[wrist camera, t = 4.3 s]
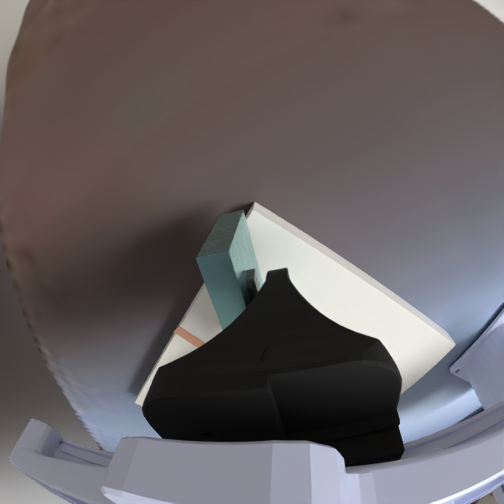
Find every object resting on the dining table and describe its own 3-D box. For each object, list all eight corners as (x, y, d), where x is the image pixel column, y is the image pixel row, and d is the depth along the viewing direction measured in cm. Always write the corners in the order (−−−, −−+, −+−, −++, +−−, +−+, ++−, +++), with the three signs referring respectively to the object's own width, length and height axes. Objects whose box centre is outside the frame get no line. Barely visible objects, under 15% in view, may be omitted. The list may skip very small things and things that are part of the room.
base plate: (447, 332, 17) (456, 345, 15) (297, 448, 24) (297, 461, 22) (252, 200, 14) (249, 208, 12) (138, 389, 21) (132, 402, 20)
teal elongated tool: (362, 420, 18) (372, 467, 14) (232, 437, 20) (225, 483, 16) (356, 184, 11) (401, 216, 7) (128, 236, 13) (75, 283, 9)
